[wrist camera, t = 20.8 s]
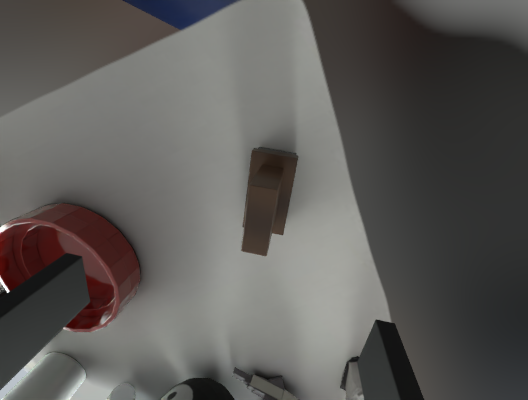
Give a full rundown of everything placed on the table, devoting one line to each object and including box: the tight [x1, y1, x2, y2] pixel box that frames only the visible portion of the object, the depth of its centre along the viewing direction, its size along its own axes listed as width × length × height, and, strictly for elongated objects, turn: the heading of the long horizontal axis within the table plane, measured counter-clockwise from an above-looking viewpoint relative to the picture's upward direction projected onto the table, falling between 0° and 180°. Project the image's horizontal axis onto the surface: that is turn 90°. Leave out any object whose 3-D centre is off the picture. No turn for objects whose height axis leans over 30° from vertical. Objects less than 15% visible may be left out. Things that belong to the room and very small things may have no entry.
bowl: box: [0, 203, 140, 332], centre depth 35 cm, size 17×17×5 cm
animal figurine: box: [232, 367, 299, 400], centre depth 40 cm, size 12×4×5 cm
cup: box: [2, 352, 86, 400], centre depth 44 cm, size 8×8×10 cm
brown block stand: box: [241, 147, 298, 256], centre depth 25 cm, size 8×4×9 cm, turn 172°
